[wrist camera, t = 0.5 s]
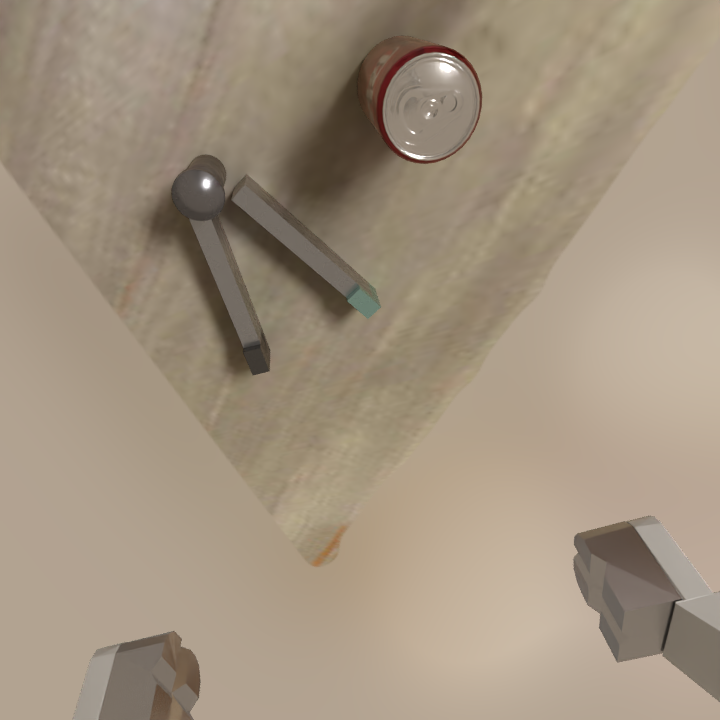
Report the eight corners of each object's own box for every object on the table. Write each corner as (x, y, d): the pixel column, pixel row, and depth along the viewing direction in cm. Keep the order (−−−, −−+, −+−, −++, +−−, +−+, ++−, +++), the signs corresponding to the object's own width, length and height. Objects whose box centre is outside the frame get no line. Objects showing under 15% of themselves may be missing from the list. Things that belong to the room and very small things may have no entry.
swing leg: (234, 188, 48) (230, 203, 44) (246, 174, 47) (244, 187, 44) (362, 300, 56) (368, 318, 52) (375, 288, 55) (380, 307, 52)
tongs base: (173, 157, 45) (159, 178, 40) (221, 144, 45) (213, 164, 40) (254, 354, 58) (251, 390, 52) (292, 344, 58) (293, 380, 52)
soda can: (364, 139, 47) (387, 177, 37) (348, 46, 42) (368, 60, 33) (444, 120, 47) (488, 152, 37) (435, 25, 42) (482, 33, 33)
